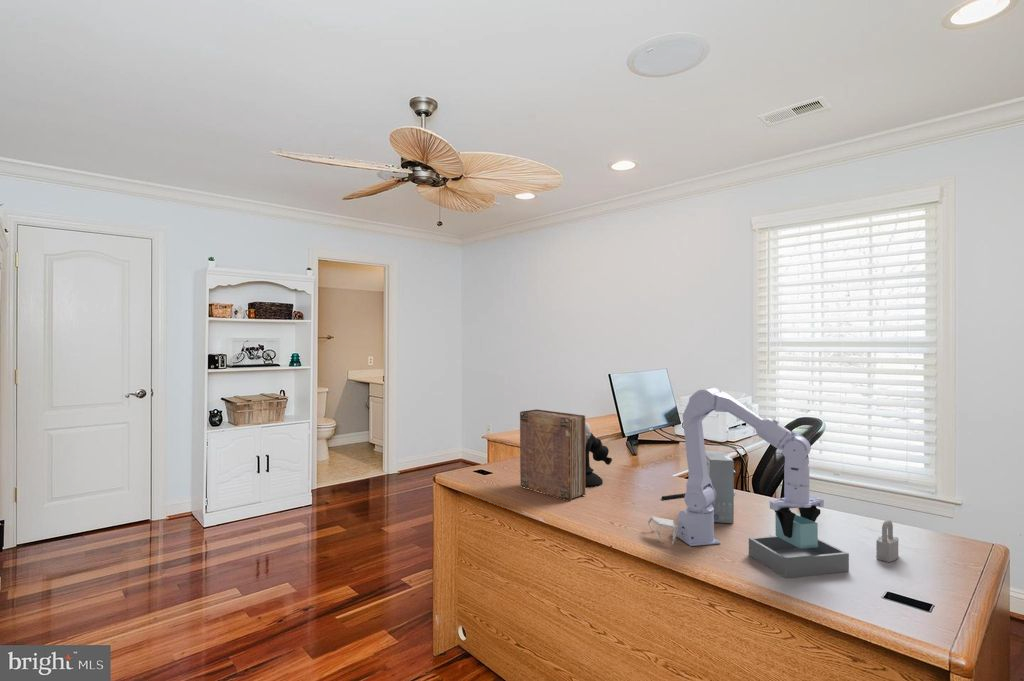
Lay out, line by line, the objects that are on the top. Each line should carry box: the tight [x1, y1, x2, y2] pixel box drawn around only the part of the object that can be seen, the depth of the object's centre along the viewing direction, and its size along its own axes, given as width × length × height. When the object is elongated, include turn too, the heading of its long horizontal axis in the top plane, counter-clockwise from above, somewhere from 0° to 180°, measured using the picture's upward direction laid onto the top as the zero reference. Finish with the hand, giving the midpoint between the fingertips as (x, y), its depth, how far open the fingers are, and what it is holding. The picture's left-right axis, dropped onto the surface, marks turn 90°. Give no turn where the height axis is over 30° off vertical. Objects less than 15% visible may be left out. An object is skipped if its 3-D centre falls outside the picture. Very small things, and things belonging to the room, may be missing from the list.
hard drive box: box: [705, 450, 735, 524], centre depth 171 cm, size 16×8×20 cm, turn 168°
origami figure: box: [647, 515, 678, 545], centre depth 153 cm, size 12×8×5 cm
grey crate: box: [748, 535, 850, 579], centre depth 135 cm, size 18×14×4 cm
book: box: [519, 409, 586, 502], centre depth 198 cm, size 25×9×30 cm, turn 44°
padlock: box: [875, 519, 899, 563], centre depth 138 cm, size 7×4×10 cm, turn 127°
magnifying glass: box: [661, 489, 736, 501], centre depth 194 cm, size 13×31×2 cm, turn 110°
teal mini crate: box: [774, 512, 819, 549], centre depth 135 cm, size 5×9×6 cm, turn 11°
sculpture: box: [585, 421, 613, 488], centre depth 214 cm, size 15×24×25 cm, turn 130°
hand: (796, 535), depth 135 cm, fingers closed on teal mini crate, 5 cm apart
